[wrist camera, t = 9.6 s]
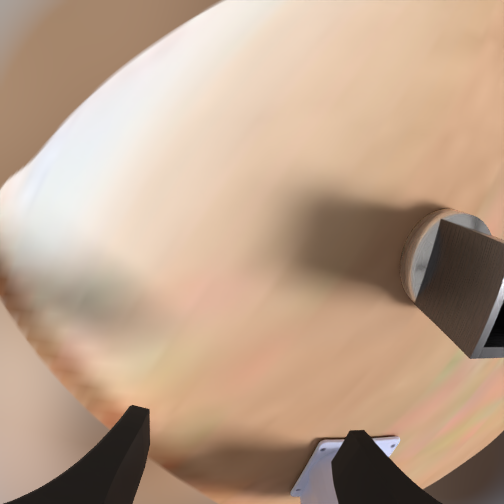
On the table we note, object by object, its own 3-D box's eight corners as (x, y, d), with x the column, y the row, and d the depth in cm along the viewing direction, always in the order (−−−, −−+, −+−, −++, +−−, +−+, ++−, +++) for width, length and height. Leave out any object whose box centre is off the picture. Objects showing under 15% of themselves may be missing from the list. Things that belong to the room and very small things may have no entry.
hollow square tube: (470, 311, 17) (524, 356, 11) (414, 303, 17) (469, 358, 11) (495, 237, 16) (560, 266, 10) (440, 218, 15) (513, 247, 10)
